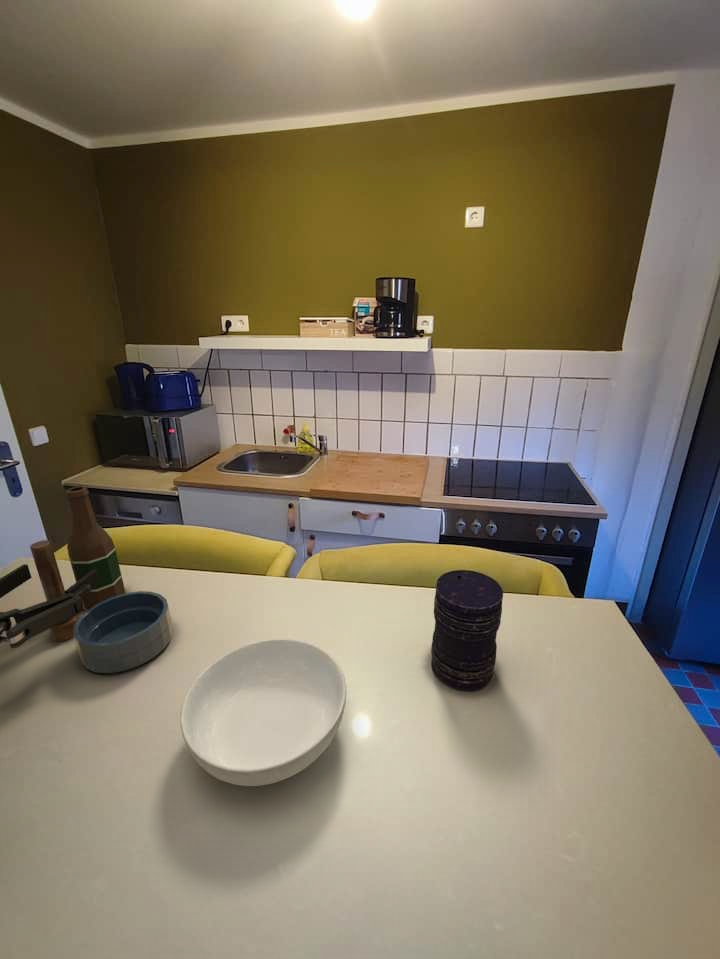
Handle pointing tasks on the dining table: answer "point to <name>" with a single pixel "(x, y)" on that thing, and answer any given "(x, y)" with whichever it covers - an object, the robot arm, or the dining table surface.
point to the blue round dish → (123, 631)
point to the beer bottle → (92, 549)
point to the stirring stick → (52, 585)
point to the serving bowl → (263, 711)
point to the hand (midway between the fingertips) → (62, 573)
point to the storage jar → (465, 629)
